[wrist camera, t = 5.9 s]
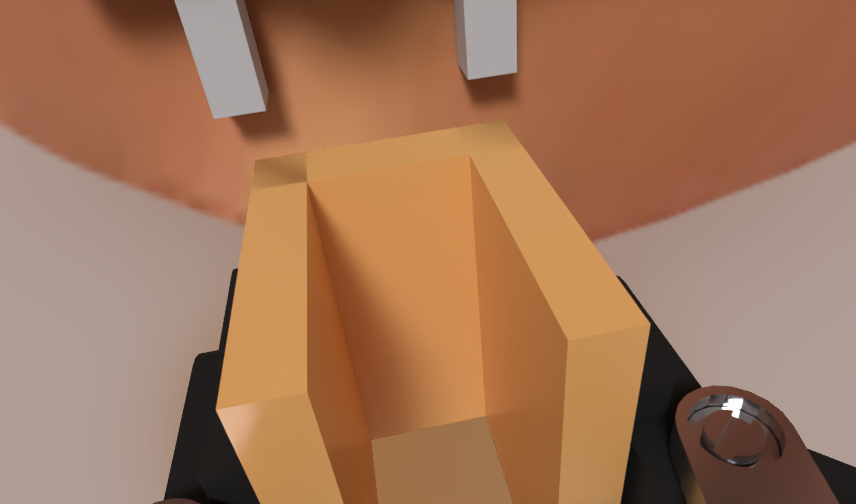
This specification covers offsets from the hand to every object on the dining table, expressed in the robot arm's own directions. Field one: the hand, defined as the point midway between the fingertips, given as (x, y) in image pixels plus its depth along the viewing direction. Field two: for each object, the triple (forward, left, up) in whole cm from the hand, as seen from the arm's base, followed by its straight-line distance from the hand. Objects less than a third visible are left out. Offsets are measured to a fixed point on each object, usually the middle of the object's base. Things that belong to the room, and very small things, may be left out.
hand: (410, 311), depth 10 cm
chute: (0, 0, -1) cm, 1 cm away
